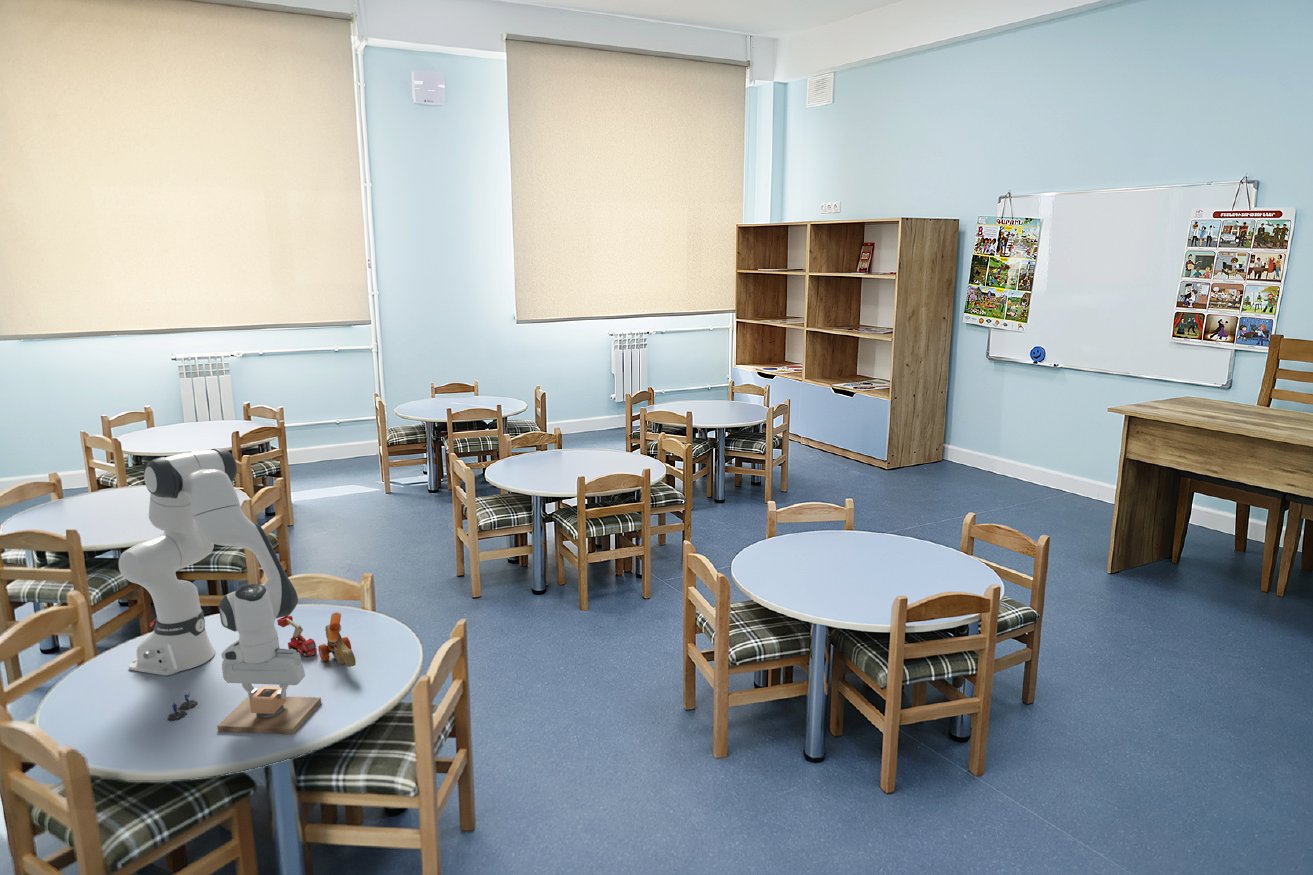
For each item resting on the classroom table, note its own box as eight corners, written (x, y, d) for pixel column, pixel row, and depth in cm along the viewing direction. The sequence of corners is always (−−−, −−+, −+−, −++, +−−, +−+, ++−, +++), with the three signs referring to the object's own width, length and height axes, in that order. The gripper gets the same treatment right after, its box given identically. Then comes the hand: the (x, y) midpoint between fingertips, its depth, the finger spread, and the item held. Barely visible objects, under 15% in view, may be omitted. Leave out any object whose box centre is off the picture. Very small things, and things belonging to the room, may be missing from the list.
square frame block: (251, 712, 208) (249, 698, 207) (264, 699, 213) (262, 686, 212) (273, 713, 207) (271, 699, 206) (286, 700, 213) (284, 687, 212)
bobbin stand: (218, 731, 205) (213, 704, 203) (250, 700, 219) (246, 674, 217) (293, 734, 203) (289, 706, 201) (321, 702, 217) (317, 676, 215)
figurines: (179, 723, 210) (177, 708, 209) (161, 722, 210) (158, 707, 209) (203, 701, 220) (200, 686, 218) (186, 701, 220) (183, 686, 219)
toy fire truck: (309, 658, 240) (304, 628, 238) (280, 647, 247) (276, 618, 245) (318, 653, 243) (314, 623, 240) (290, 642, 250) (286, 613, 248)
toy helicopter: (346, 647, 246) (340, 605, 242) (370, 674, 230) (364, 630, 226) (318, 656, 241) (311, 613, 238) (340, 685, 225) (334, 639, 222)
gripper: (305, 643, 208) (312, 691, 212) (230, 641, 210) (238, 689, 214) (292, 655, 202) (299, 705, 206) (214, 653, 204) (223, 702, 208)
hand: (267, 697), depth 210 cm, fingers open, 6 cm apart
